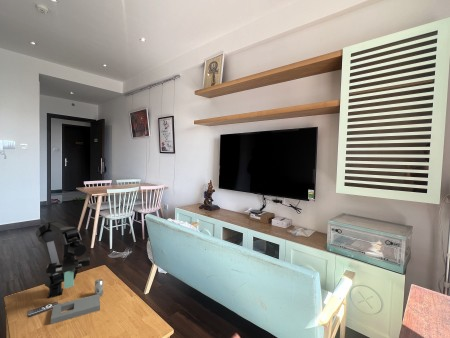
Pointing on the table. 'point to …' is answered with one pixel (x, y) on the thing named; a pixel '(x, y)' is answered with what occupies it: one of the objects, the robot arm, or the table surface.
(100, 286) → the round peg
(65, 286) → the square peg
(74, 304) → the plate
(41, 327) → the table surface
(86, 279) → the table surface
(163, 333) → the table surface
